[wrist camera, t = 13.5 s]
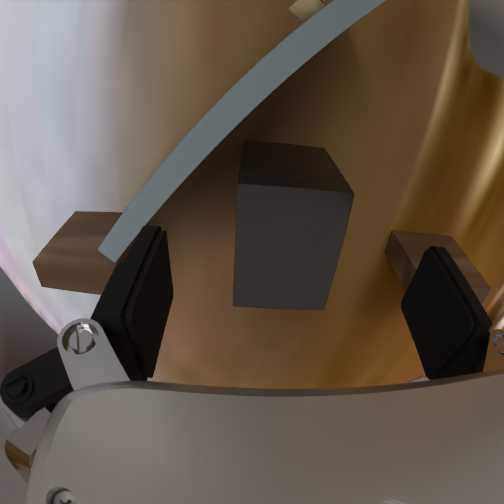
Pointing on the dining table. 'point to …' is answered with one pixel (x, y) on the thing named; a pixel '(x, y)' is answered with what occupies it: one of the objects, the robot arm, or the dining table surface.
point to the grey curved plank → (235, 109)
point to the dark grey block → (288, 226)
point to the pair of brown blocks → (100, 224)
